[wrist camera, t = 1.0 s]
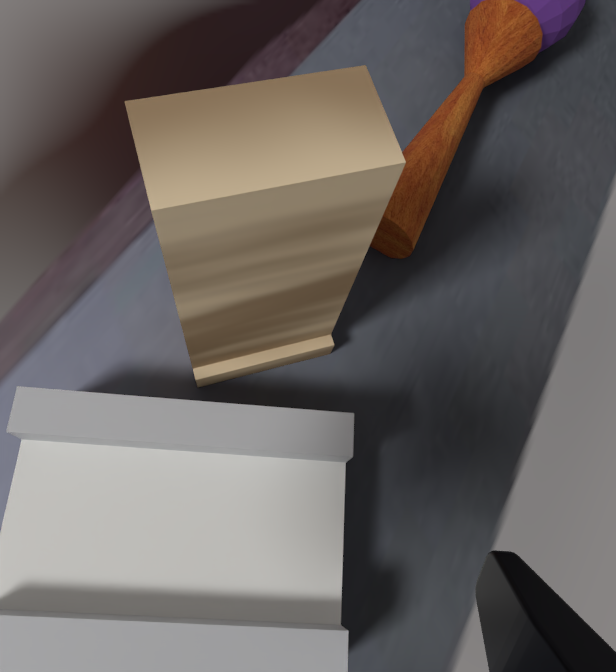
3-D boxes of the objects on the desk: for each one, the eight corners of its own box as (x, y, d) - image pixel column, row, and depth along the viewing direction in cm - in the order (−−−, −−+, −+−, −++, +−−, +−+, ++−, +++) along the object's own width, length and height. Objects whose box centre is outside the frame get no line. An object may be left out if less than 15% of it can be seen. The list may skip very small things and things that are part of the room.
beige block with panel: (330, 353, 25) (413, 179, 13) (197, 387, 24) (156, 230, 12) (304, 275, 27) (359, 50, 15) (176, 303, 25) (120, 84, 13)
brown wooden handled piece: (319, 170, 24) (510, -111, 30) (327, 243, 30) (486, -6, 35) (449, 225, 23) (624, -82, 28) (432, 291, 28) (581, 23, 34)
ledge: (330, 665, 21) (347, 687, 18) (-5, 652, 20) (-52, 673, 17) (338, 430, 24) (354, 413, 21) (48, 408, 23) (17, 386, 20)
